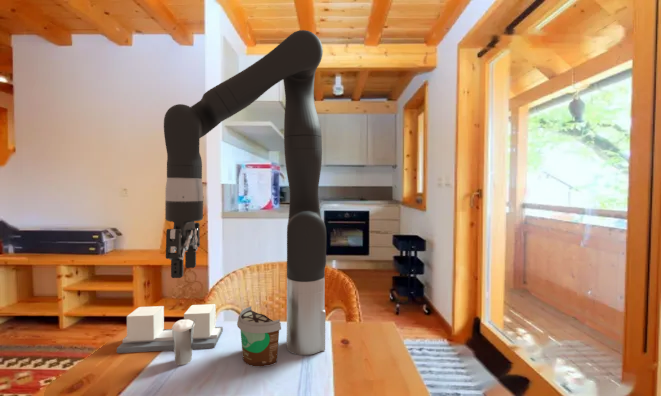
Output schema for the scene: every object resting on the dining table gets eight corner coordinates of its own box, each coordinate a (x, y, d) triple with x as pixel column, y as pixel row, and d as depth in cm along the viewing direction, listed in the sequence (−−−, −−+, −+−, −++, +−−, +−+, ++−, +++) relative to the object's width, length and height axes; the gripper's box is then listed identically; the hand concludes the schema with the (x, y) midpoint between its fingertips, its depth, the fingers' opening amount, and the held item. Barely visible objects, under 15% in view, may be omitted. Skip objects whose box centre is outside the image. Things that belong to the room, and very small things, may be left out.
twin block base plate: (222, 331, 84) (222, 301, 84) (214, 347, 75) (214, 315, 75) (136, 335, 81) (135, 305, 81) (116, 353, 72) (116, 319, 72)
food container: (226, 355, 72) (226, 312, 72) (249, 345, 76) (249, 305, 76) (257, 377, 63) (257, 329, 63) (281, 365, 68) (281, 320, 68)
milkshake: (189, 368, 66) (189, 322, 66) (167, 365, 67) (167, 320, 67) (202, 357, 71) (201, 314, 70) (181, 354, 72) (181, 312, 72)
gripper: (192, 200, 62) (191, 281, 62) (210, 198, 76) (210, 264, 76) (152, 200, 61) (151, 282, 61) (178, 198, 75) (178, 264, 75)
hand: (184, 272), depth 69 cm, fingers open, 8 cm apart
